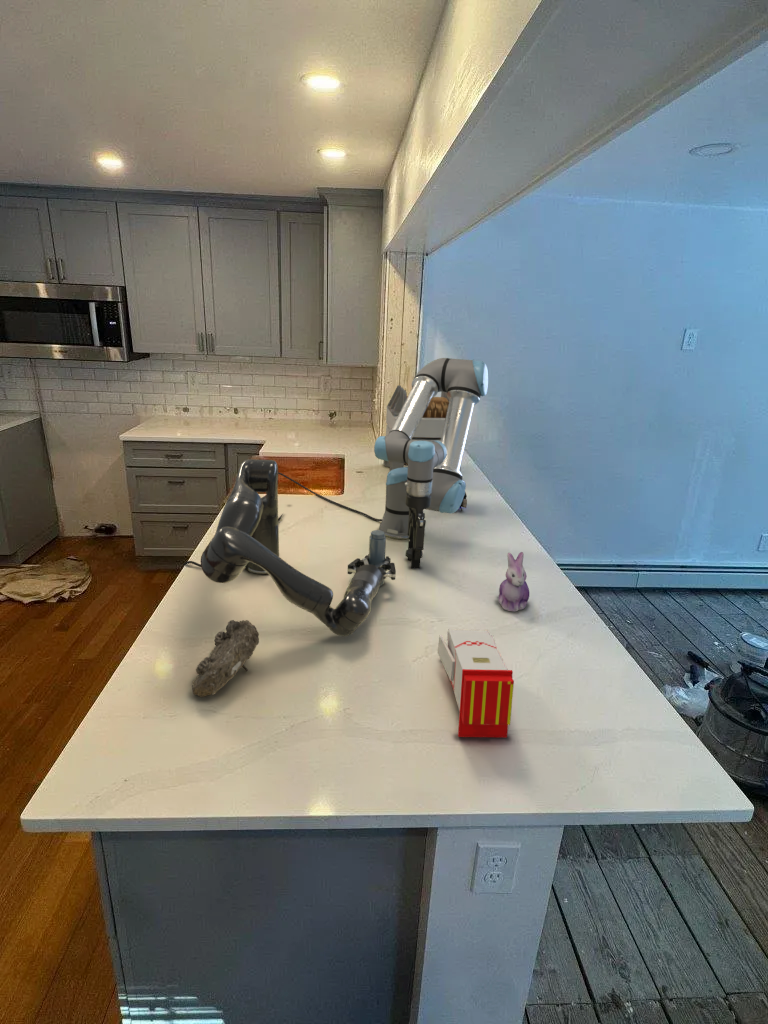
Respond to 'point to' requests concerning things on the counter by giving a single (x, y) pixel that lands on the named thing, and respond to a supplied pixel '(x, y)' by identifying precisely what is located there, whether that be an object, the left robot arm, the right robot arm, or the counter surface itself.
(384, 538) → the jar
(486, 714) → the toy
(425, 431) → the white wooden crate
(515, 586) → the figurine
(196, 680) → the fossil
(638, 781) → the counter surface
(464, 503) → the figurine character
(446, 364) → the right robot arm
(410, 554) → the lid
